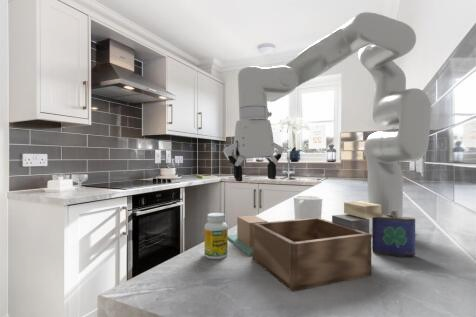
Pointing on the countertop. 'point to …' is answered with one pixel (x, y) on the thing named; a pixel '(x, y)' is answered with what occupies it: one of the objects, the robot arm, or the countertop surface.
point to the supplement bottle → (216, 236)
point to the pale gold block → (362, 209)
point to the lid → (245, 233)
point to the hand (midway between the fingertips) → (255, 179)
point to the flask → (393, 235)
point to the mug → (307, 207)
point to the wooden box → (313, 250)
